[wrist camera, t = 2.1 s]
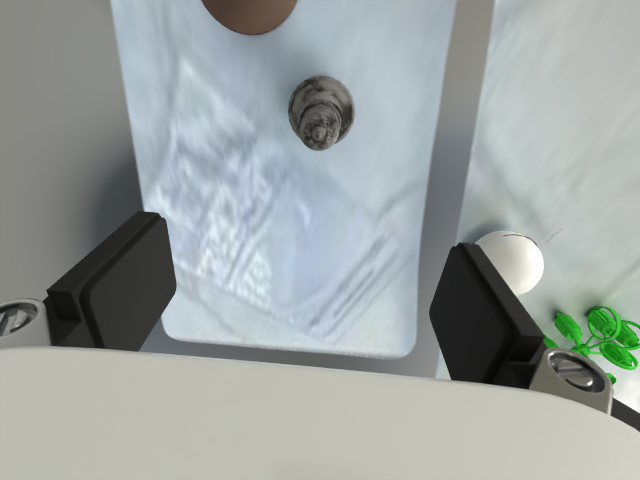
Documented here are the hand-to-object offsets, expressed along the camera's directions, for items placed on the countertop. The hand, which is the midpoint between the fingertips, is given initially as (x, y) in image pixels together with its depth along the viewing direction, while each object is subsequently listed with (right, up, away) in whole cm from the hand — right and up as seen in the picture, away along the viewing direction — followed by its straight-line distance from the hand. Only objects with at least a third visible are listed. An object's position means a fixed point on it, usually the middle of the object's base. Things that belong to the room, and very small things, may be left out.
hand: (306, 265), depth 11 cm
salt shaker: (+1, +14, +21) cm, 26 cm away
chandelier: (+36, -13, +36) cm, 53 cm away
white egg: (+22, +1, +28) cm, 36 cm away
